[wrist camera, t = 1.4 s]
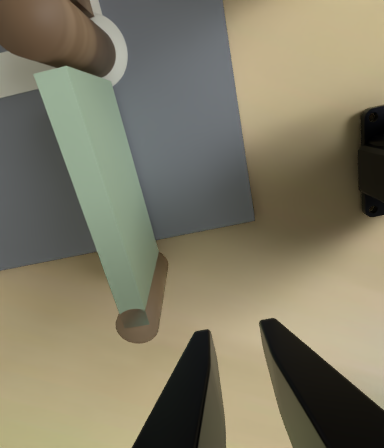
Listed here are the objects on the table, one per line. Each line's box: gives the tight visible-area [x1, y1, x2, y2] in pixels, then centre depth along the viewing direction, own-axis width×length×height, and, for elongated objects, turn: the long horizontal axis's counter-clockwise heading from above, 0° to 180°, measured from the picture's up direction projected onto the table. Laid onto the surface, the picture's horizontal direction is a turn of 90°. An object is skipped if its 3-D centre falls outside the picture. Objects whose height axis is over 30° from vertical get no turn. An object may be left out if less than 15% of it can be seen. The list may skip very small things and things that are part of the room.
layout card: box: [0, 0, 255, 271], centre depth 15 cm, size 20×28×1 cm
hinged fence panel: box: [33, 66, 168, 343], centre depth 15 cm, size 2×12×6 cm, turn 12°
